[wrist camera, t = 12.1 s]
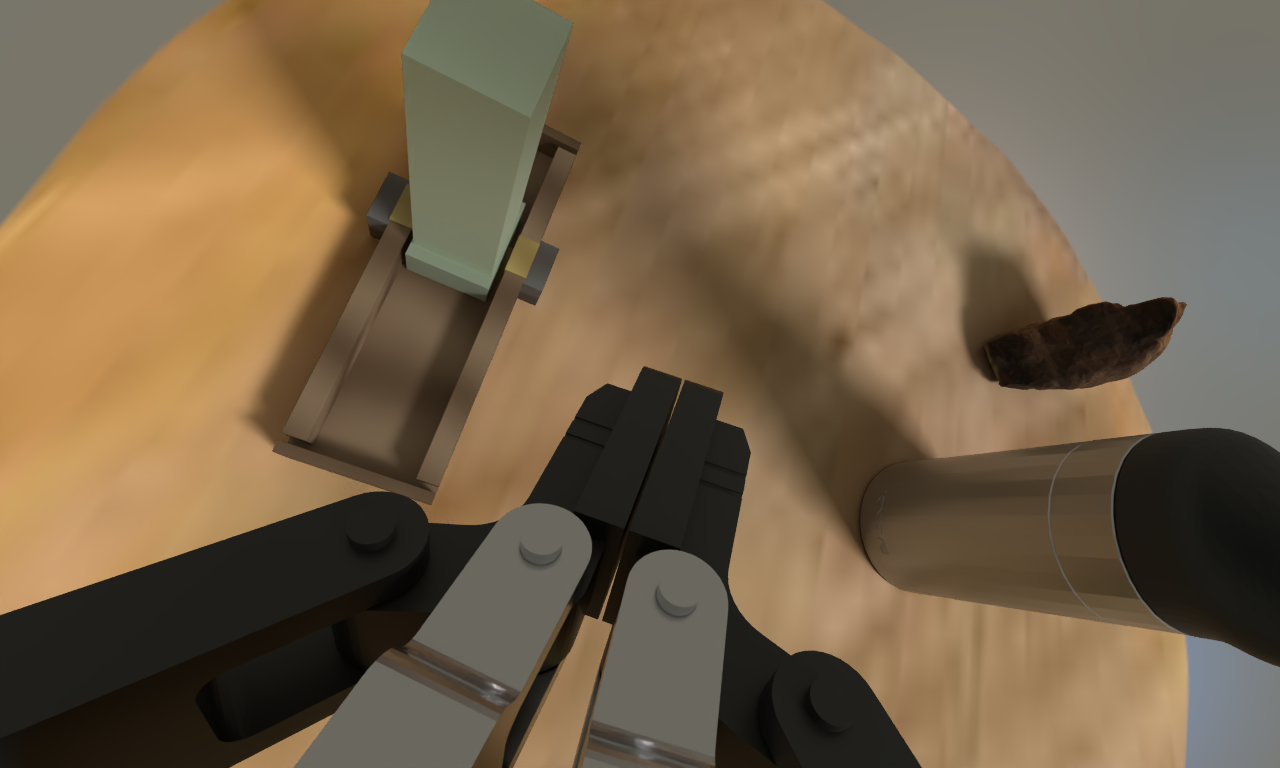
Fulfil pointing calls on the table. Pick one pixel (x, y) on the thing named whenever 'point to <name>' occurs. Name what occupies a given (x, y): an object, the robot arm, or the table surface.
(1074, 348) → the decorative rock
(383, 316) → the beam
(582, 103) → the table surface
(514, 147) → the block
